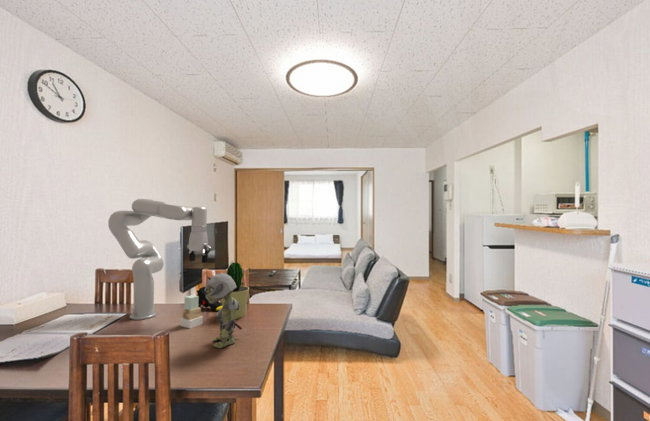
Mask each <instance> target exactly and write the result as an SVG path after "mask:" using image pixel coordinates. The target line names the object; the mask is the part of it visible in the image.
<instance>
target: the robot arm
mask: <svg viewBox="0 0 650 421" xmlns="http://www.w3.org/2000/svg"><path fill="white" fill-rule="evenodd" d="M207 216H208V209H207V208H206V207H203V206H184V205H174V204H169V203H166V202H163V201H159V200H153V199H150V198H149V199H147V198H137V199H135V200H134V201H132V204H131V210H117V211H114V212H113V213H111V215H110V216H109V218H108V223H107V224H108V229H109V231H110V232H111V234H112V235H113V236H114V238H115V239H116V241H117V242H118V244H119V245H120V248H121V249H122V250H123V253H124V254H125V256H126V257H128V259H132V260H134V259H137V260H135V261H134V262H133V264H132V267H131V269H132V270H131V271H132V275H133V276H132V277H133V307H132V308H131V309H130V310H131V311H132V314H130V315H129V319H131V320H135V321H137V320H139V321H140V320H146V319H151V318H154V317H155V316H157V314H158V312H157V311H155V309H154V307H155V304H154V302H155V280H154V276H153V274H155V273H158V272H160V271H162V270H163V268H164V260H163V258H162V256H161V254H160V253H159V251H158V250H157V248H156V247H155V245H154V244H153V243H152V242H151V241H149V240H145V239H144V240H143V239H142V240H139V239H138V238H137V236H136V234H135V233H134V231H133V230H131V229H130V228H129V226H130V227H132V226H133V227H134V226H138V225H141V224H142V223H144V222H145V221H147V220H148V219H149V218H151V217H155V218H161V219H167V220H172V221H191V232H190V233H189V239H188V244H187V245H186V248H187V251H188V254H189V258H188V259H189V262H195V261H196V253H195V252H201V253H202V254H201V263H202V264H203V263H208V260H209V258H208V256H209V254H210V252H211V248H212V247H211V245H209V244H208V243H209V241H208V239H209V237H208V233H207V228H208V227H207V222H208V220H207V219H208V217H207Z"/></svg>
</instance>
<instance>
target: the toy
mask: <svg viewBox="0 0 650 421" xmlns="http://www.w3.org/2000/svg"><path fill="white" fill-rule="evenodd" d="M206 278H207V279H208V280H207V282H206V284H205V286H206V287H205V286H204V287H205V291H206V289H207V291H206V293H207V295H206V296H207V297H206V296H205V297H206V298H207V299H208V301H209V303H210V304H214V303H216V302H218V301H219V302H221V301H222V300H221V299H222V298H224V300H225V303H224V305H223V307H222V309H220V310H218V312H217V313H215V316H216V317H218V319H217V321H218V323H219V324H218V329H219V336H217V337H214V338H213V339H212V342H215V343H214V344H213V345H212V347H215V348H217V349H222V348H225V347H227V346H228V345H234V344H235V342H236V340H235V336H234V332H235V329H236V328H237V329H239V330H240V331H241V330H242V329H243V327H242V326H240V325H239V324H238V323H237V322H236V319H235V316H236V311H237V310H238V309H239V303H238V301H237V300H236V299H235V298H233V297H231V296H230V294H231V293H232V292H233V290H234V289H235V288H236V287H237V286H236V283H235V282H234V280H233V279H232V277H231V276H229V275H227V273H217V274H215V275H213V276H212V277H209V276H208V275H207V277H206ZM218 341H219V342H218Z"/></svg>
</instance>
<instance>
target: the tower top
mask: <svg viewBox="0 0 650 421" xmlns="http://www.w3.org/2000/svg"><path fill="white" fill-rule="evenodd" d="M201 316H202V308H201V306H200V307H198V308H197V309H194V310H187V309H184V308H182V318H185V319H188V320H192V319H195V318H198V317H201Z"/></svg>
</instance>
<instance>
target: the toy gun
mask: <svg viewBox="0 0 650 421" xmlns="http://www.w3.org/2000/svg"><path fill="white" fill-rule="evenodd" d="M205 287H206V285H205V286H203V287H199V289H198V290H196V295H195V296H199V301H198V307H200V308H201V307H202V306H203V307H204V308H210V309H211V310H212V311H213V312H216V311H219V310H221V309H222V302H221V301H218V302H216V303H214V304H210V303H209V301H208V299H207V298H206V297H207V296H206V295H207V293H206V291H207V289H208V288H207V289H206V291H205ZM205 296H206V297H205Z"/></svg>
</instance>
